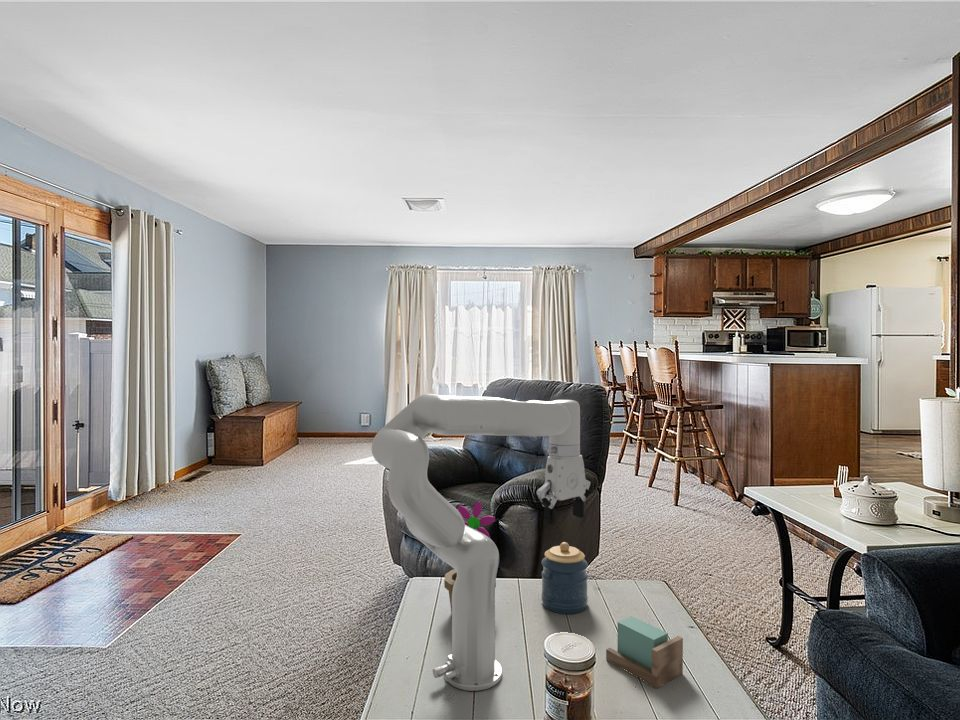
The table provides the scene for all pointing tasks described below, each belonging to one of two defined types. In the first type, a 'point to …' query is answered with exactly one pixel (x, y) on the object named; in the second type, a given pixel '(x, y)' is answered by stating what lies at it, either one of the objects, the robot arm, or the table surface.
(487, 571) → the robot arm
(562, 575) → the canister
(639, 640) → the teal rectangular block
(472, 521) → the flowerpot
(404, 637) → the table surface
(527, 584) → the table surface
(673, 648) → the book slot
